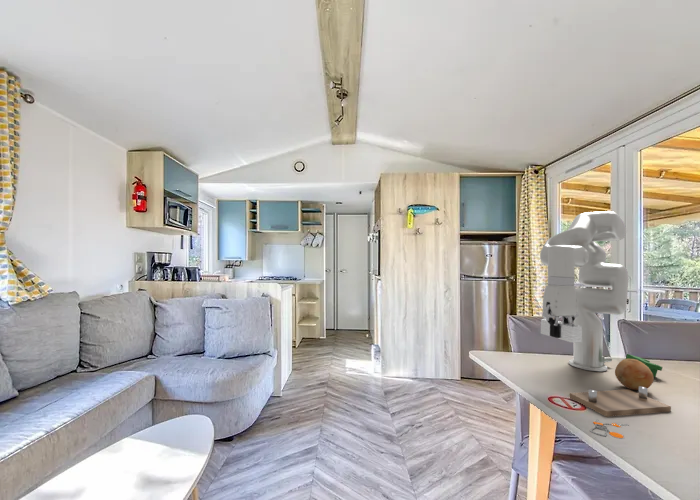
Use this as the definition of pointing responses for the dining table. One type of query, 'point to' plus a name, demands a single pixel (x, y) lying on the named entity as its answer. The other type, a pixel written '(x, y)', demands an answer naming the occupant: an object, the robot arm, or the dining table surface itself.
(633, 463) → the dining table surface
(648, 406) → the peg board
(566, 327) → the silver metal block
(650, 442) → the dining table surface
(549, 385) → the dining table surface
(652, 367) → the clamp
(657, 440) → the dining table surface
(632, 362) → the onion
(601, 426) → the key chain
